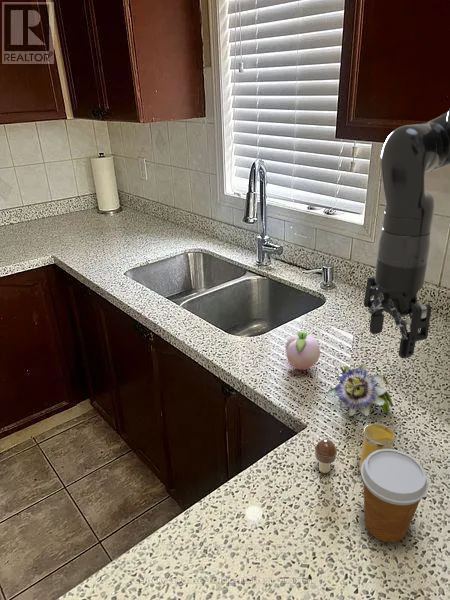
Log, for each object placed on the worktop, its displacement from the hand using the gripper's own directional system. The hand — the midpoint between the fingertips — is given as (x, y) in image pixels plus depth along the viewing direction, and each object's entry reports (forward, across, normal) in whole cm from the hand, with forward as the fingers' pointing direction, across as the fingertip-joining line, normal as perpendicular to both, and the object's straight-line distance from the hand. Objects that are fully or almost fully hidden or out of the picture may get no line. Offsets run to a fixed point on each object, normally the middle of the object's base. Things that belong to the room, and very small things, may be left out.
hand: (389, 344), depth 78 cm
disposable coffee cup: (+23, -16, +9) cm, 29 cm away
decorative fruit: (+23, +28, +3) cm, 36 cm away
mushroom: (+22, -3, +13) cm, 26 cm away
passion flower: (+23, +11, -3) cm, 25 cm away
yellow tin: (+22, -6, +5) cm, 24 cm away
